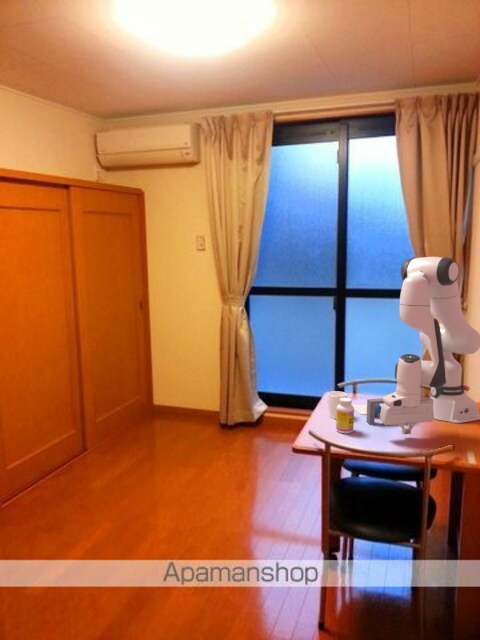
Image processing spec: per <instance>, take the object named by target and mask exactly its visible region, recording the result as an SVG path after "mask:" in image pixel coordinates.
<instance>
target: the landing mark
mask: <svg viewBox="0 0 480 640" xmlns="http://www.w3.org/2000/svg"><path fill="white" fill-rule="evenodd" d="M351 405H352V404H351ZM352 406H353V407H354V411H356V412H357V413H358V414H360V416H361V415H364V416H365V415H367V403H364V404H353V405H352Z"/></svg>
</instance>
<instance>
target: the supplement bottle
mask: <svg viewBox="0 0 480 640" xmlns="http://www.w3.org/2000/svg"><path fill="white" fill-rule="evenodd" d="M339 402H340V404H339V405H338V406H337V415H336V419H335V423H336V424H335V430H336V431H337V433H339V434H347V435H348V434H351V433H353V432H354V423H355V422H354V420H355V418H354V417H355V409H354V407H353V406H352V402H353V399H351V398H350V397H347V398H340V400H339Z"/></svg>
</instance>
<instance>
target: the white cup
mask: <svg viewBox="0 0 480 640" xmlns="http://www.w3.org/2000/svg"><path fill="white" fill-rule="evenodd" d="M340 398H348V393H346V392H344V391H338V390H333V391H329V392H328V393H327V399H328V400H327V405H328V406H327V407H328V408H327V409H328V417H329V418H330V419H333V420H336V415H337V406H338V405H339V404H340V402H339V400H340Z"/></svg>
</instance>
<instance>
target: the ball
mask: <svg viewBox="0 0 480 640" xmlns="http://www.w3.org/2000/svg"><path fill="white" fill-rule="evenodd" d="M381 407H382V405H381V404H375V417H377V416H380V413H381Z"/></svg>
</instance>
